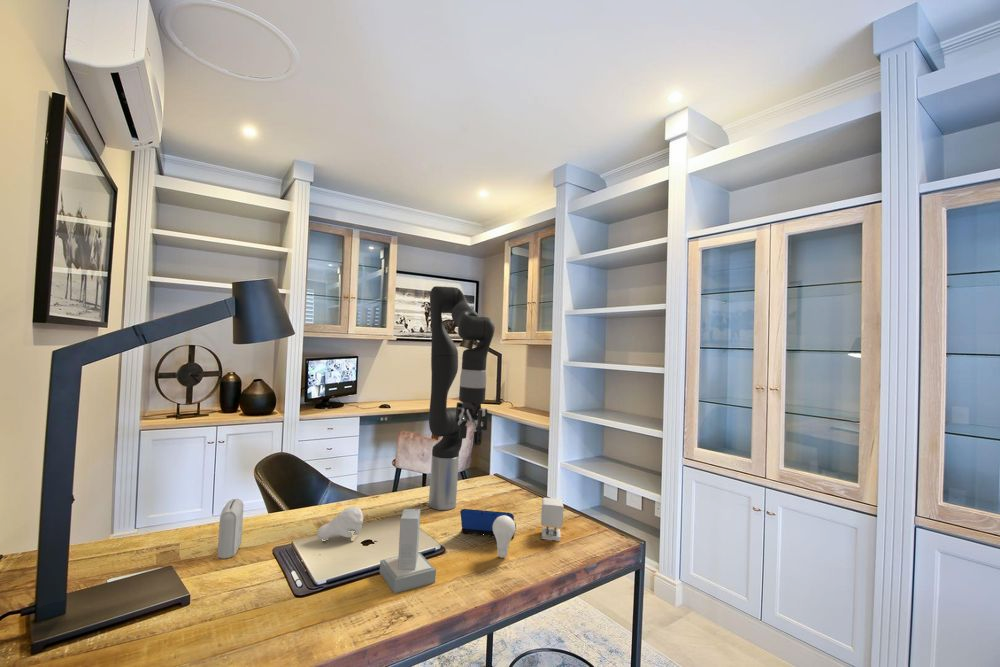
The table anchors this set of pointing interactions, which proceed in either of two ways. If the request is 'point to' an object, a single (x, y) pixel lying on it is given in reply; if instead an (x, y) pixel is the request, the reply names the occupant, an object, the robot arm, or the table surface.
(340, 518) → the white rounded figure
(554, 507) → the white block on posts
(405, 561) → the skincare box
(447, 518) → the table surface
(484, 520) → the handheld game console
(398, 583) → the plinth
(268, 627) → the table surface
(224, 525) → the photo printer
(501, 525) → the lightbulb
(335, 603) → the table surface
